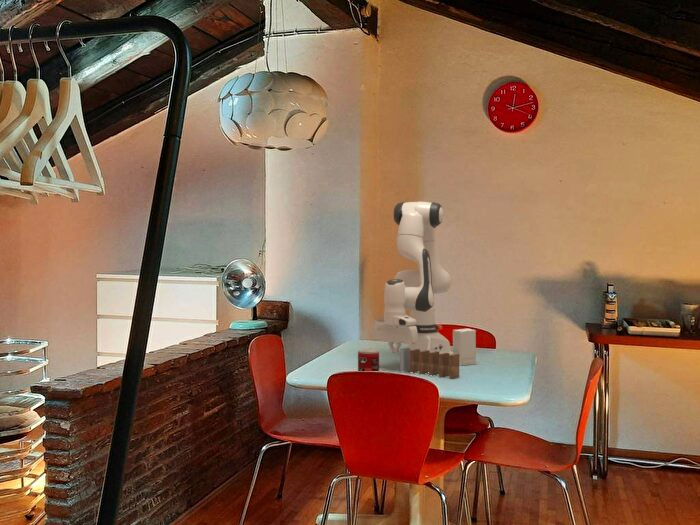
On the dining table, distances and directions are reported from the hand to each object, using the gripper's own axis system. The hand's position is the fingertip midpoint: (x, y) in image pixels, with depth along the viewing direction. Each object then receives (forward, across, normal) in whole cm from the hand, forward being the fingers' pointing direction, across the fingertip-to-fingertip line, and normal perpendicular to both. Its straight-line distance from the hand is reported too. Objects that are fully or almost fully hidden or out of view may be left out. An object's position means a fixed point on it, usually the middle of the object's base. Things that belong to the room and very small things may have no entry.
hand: (394, 353), depth 292 cm
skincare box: (+7, +16, +28) cm, 33 cm away
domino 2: (+7, +10, 0) cm, 12 cm away
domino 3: (+7, +14, 0) cm, 16 cm away
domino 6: (+7, +28, 0) cm, 29 cm away
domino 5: (+7, +23, 0) cm, 24 cm away
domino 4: (+7, +19, 0) cm, 20 cm away
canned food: (+7, +3, -22) cm, 23 cm away
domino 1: (+7, +5, 0) cm, 8 cm away
